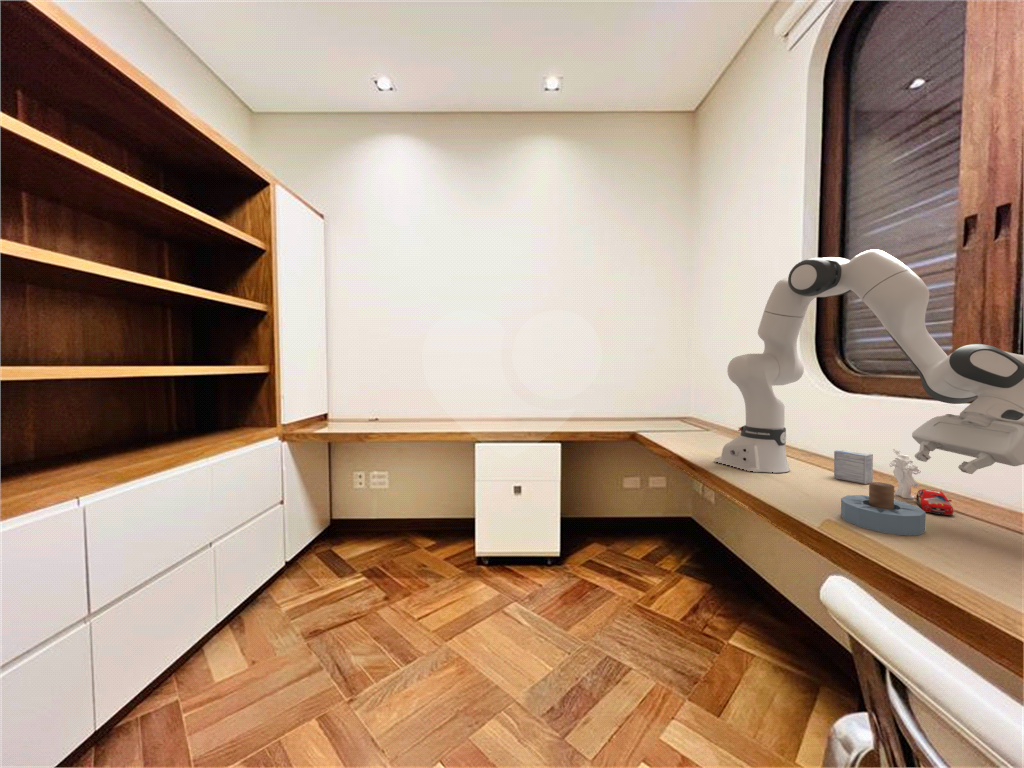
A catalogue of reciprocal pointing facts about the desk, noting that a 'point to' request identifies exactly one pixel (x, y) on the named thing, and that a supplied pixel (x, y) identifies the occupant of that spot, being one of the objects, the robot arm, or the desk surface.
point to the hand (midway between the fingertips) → (940, 464)
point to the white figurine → (904, 474)
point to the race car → (934, 502)
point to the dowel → (881, 495)
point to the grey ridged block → (853, 466)
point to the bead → (883, 516)
